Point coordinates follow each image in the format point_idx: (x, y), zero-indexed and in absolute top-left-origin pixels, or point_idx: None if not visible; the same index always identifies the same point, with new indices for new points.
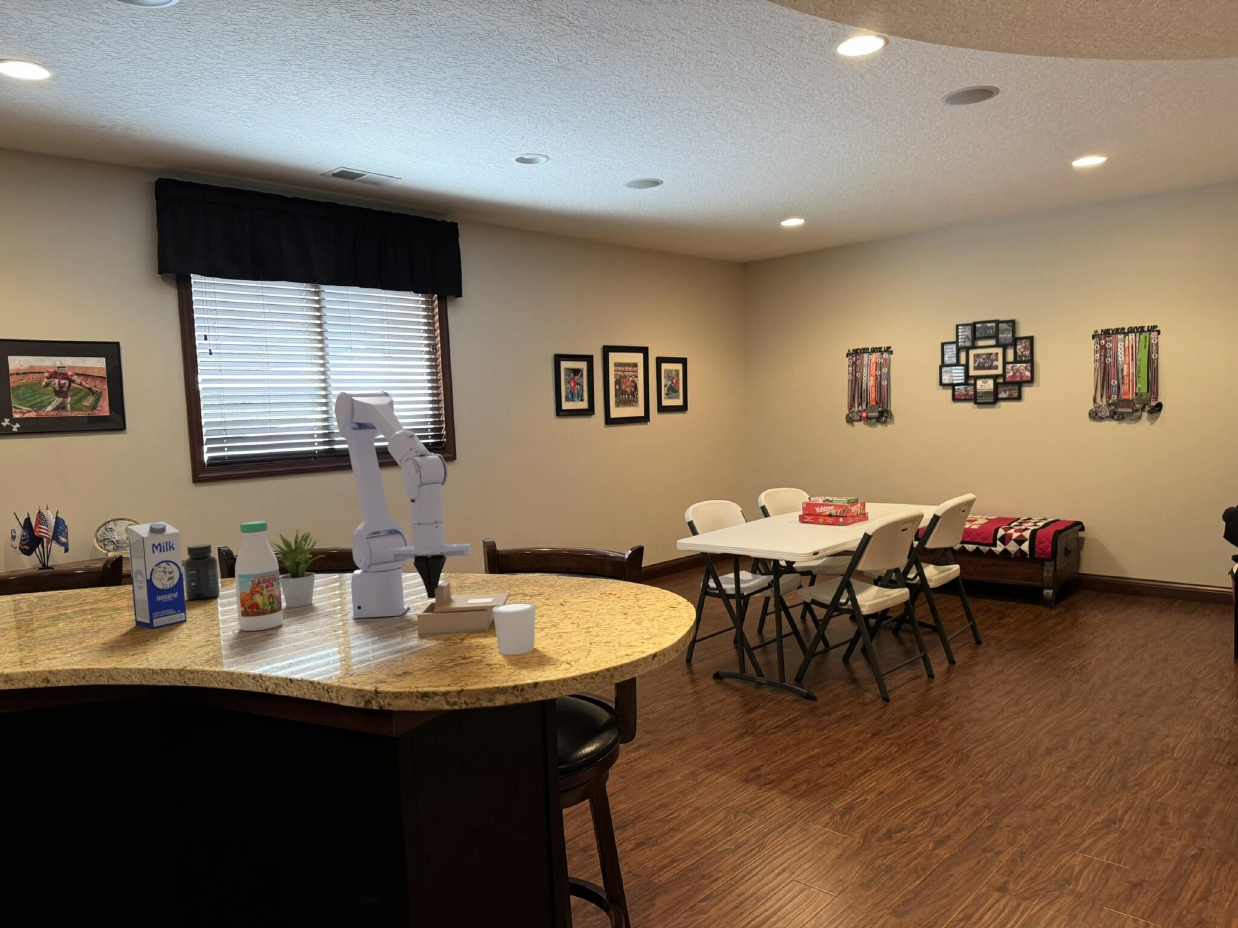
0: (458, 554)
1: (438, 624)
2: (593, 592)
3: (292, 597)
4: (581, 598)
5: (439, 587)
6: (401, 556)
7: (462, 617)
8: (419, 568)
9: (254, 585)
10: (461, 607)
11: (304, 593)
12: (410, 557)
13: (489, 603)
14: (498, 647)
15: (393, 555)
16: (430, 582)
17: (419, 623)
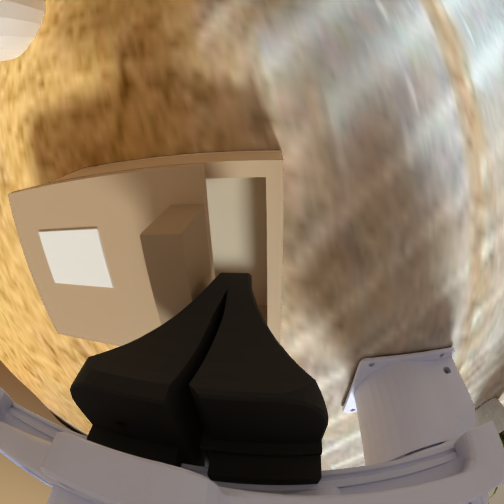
0: (30, 418)
1: (203, 156)
2: (53, 388)
3: (499, 407)
4: (47, 368)
5: (176, 287)
6: (419, 468)
7: (116, 168)
8: (270, 367)
9: None
10: (98, 177)
11: (488, 417)
12: (354, 473)
13: (38, 218)
14: (40, 5)
15: (476, 455)
16: (216, 308)
17: (274, 154)
